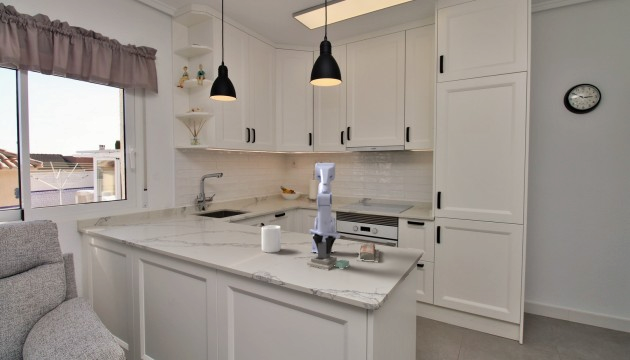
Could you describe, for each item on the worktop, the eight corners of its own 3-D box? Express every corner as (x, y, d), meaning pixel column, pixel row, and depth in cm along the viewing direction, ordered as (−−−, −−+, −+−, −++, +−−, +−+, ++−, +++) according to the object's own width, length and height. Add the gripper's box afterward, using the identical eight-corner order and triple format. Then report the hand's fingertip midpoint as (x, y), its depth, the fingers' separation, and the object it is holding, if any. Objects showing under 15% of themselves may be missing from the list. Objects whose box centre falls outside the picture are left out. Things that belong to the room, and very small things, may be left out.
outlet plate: (307, 265, 130) (307, 259, 129) (322, 258, 140) (322, 252, 139) (327, 270, 124) (327, 263, 124) (341, 262, 134) (341, 256, 134)
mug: (270, 254, 145) (270, 230, 144) (254, 249, 153) (254, 226, 152) (284, 250, 152) (284, 227, 152) (268, 245, 160) (268, 223, 159)
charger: (317, 257, 131) (318, 243, 130) (322, 254, 134) (322, 241, 134) (325, 258, 128) (325, 244, 128) (330, 256, 132) (330, 242, 132)
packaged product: (378, 252, 134) (355, 251, 136) (378, 263, 134) (355, 262, 136) (379, 242, 151) (359, 241, 154) (379, 252, 152) (359, 250, 154)
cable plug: (335, 267, 128) (335, 262, 127) (343, 264, 132) (343, 258, 132) (342, 269, 125) (342, 263, 125) (350, 266, 130) (350, 260, 130)
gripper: (305, 220, 131) (305, 251, 132) (334, 224, 123) (334, 257, 124) (314, 218, 137) (314, 248, 138) (342, 222, 129) (342, 253, 130)
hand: (324, 252), depth 131 cm, fingers closed on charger, 4 cm apart
